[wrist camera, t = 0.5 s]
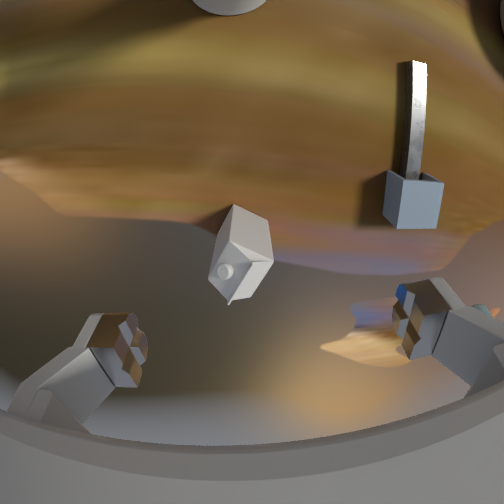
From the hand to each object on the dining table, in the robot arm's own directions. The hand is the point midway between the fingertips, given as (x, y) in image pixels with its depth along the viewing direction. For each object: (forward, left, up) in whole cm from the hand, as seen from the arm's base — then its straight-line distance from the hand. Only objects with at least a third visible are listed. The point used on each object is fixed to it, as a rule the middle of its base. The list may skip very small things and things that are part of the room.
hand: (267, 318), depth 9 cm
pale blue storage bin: (+11, +30, -45) cm, 55 cm away
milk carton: (+17, -2, -45) cm, 48 cm away
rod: (-4, +30, -45) cm, 54 cm away
